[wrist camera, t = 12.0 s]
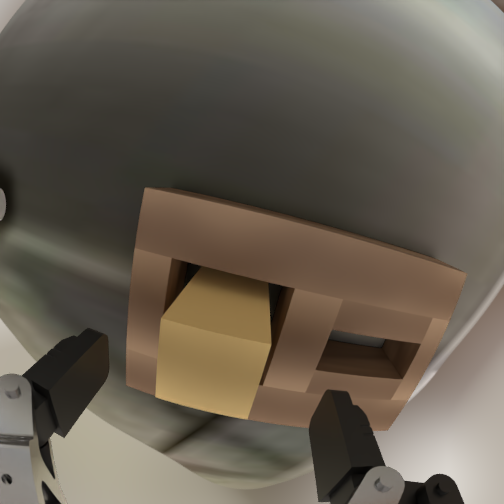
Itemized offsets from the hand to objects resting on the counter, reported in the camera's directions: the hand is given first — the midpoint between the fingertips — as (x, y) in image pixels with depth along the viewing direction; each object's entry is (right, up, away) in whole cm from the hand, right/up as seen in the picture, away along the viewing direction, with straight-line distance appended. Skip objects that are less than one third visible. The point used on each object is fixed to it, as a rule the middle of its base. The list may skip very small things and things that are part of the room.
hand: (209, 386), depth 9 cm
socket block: (+4, +1, +9) cm, 10 cm away
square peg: (0, +2, +9) cm, 9 cm away
